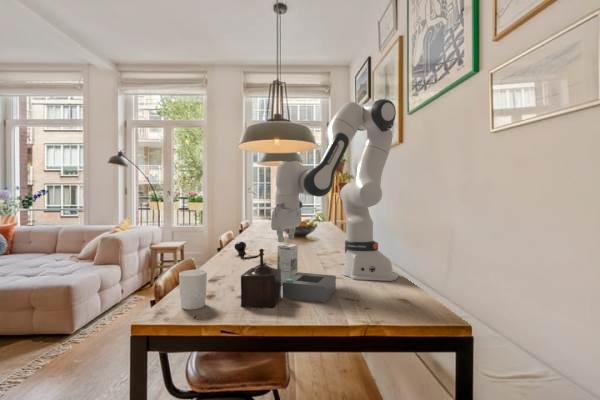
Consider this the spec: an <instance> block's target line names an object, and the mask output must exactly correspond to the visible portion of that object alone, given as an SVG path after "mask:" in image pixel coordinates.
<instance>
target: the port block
mask: <svg viewBox="0 0 600 400" xmlns="http://www.w3.org/2000/svg"><path fill="white" fill-rule="evenodd" d="M336 279H337V277H336V275H331V274H322V273H321V274H319V273H311V272H310V273H309V272H298V271H297V273H296V274H295V275H293V276H292V277H290V278H288V279H287V280H285V281H284V282H283V285H282V298H283V299H289V300H290V299H291V300H298V301H306V302H307V301H308V302H314V303H324V304H325V303H326V302H327V301H328V300H329V298H330V297H331V296H332V295H333V294H334V293H335V291H337V290H336V289H337V287H336V286H337V281H336Z"/></svg>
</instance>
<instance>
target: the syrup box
mask: <svg viewBox="0 0 600 400" xmlns="http://www.w3.org/2000/svg"><path fill="white" fill-rule="evenodd" d="M298 246H299V245H298V244H294V243H283V244H280V245H278V246H277V259H276V260H277V263H276V267H277V268H276V269H281V286H283V282H284V281H285V280H287V279H288V278H290V277H292V276H293V275H295V274H296V273H298V252H299V251H298V250H299V249H298V248H299V247H298Z"/></svg>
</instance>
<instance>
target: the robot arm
mask: <svg viewBox="0 0 600 400" xmlns="http://www.w3.org/2000/svg"><path fill="white" fill-rule="evenodd" d="M396 112H397V111H396V107H395V103H394V102H393V101H391V100H390V99H383V98H381V99H380V98H379V99H377V100H372V101H368V102H366V103H363V104H361V105H360V104H359V103H357V102H355V101H347V102H345V103H343V105H341V106H340V108H339V109H338V110H337V111H336V113H334V115H333V116H332V119H331V120H330V122H329V123H328V125H327V128H326V129H325V132H324V138H325V141H326V143H327V144H328V145H327V149H326V151H325V153H324V154H323V156H322V158H321V160H320V162H319V163H318V164H317V165H316V166H315V167H313V168H312V169H310V168H308V167H306V166H305V165H303V164H301V163H300V162H299V160H296V159H290V160H285V161H282V162H280V163H279V164H278V165H277V167H276V173H275V186H276V192H275V198H274V199H275V201H274V203H275V204H274V205H275V207H274V209H272V213H271V219H270V228H271V231H276V235H277V242H278V243H284V241H285V236H284V230H288V231H289V233H288V235H287V239H289V240H293V239H294V238H295V232H296V228H298V227H300V225H301V221H302V209H303V202H302V201H301V200H300V194H302V195H305V196H313V197H314V196H315V197H324V196H326V195H328V194H329V192H331V190H332V188H333V184H334V178H335V174H336V171H337V169H338V167H339V165H340V163H341V161H342V159H343V157H344V156H345V153H346V151H347V149H348V147H349V145H350V143H351V142H352V140H353V139H354V137H355V135H356V134H357V133H358V131H366V133H367V134H366V140H365V142H364V144H363V145H362V149H361V152H360V154H359V157H358V160H357V162H356V167H357V168H356V170H357V171H356V176H355V179H354V181H350V182H348V183H346V184H345V185H344V186H342V187H341V189H340V192H339V196H340V200H341V202H342V207H343V211H344V217H345V229H346V230H345V236H346V237H345V240H344V253H345V258H344V264H343V269H342V271H341V272H342V275H343V276H345V277H348V278H351V279H353V280H361V281H362V280H363V281H381V282H383V281H385V282H393V281H396V280H398V278H399V273H398V272H397V271H395V270H393V266H392V261H391V260H390V258H389V257H387V256H386V255H384V254H383V252H381V251H380V250H379V242H377V241H375V240H374V221H373V219H372V217H371V215H370V211H369V208H371V207H374V206H375V205H378V204H379V203H380V201H381V200H382V197H383V190H382V188H381V183H382V174H383V172H384V168H385V165H386V163H387V160H388V158H389V157H388V156H389V154H390V151H391V148H392V144H393V138H394V134H393V131H392V130H391V129H392V127H393V126H394V122H395V119H396V115H397V114H396Z"/></svg>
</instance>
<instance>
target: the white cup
mask: <svg viewBox="0 0 600 400" xmlns="http://www.w3.org/2000/svg"><path fill="white" fill-rule="evenodd" d="M207 279H208V271H207V269H206V270H205V269H200V268H199V269H188V270H187V269H186V270H183V271H181V272H179V273H178V282H179V296H180V297H179V299H180V307H181V308H182V309H181V310H186V311H187V310H189V311H190V310H197V309H201V308H203V307H205V306H206V296H207V283H208V282H207V281H208V280H207Z"/></svg>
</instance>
